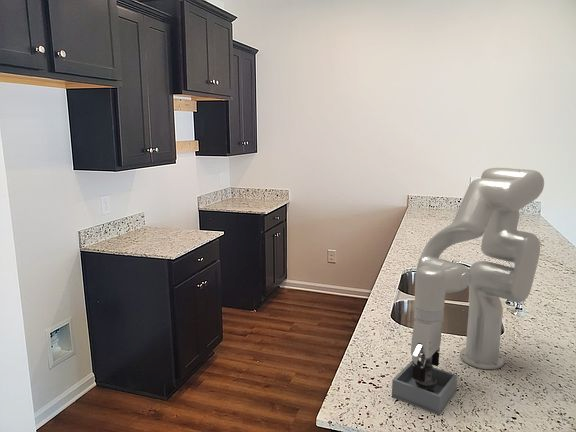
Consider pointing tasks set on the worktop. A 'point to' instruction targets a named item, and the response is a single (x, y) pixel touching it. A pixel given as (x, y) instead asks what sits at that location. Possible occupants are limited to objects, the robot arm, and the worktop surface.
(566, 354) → the worktop surface
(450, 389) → the bin
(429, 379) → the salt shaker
